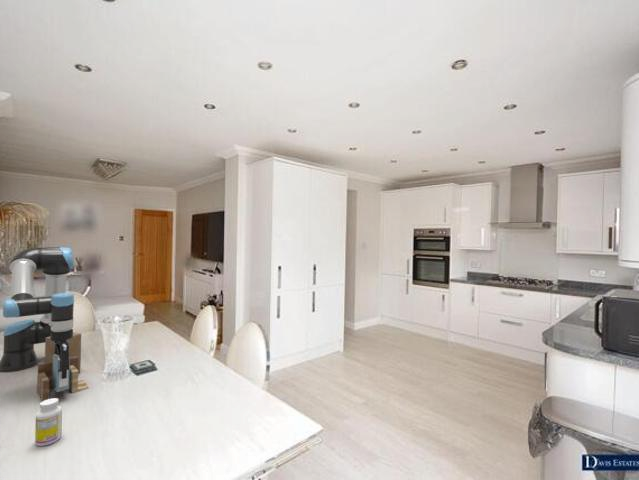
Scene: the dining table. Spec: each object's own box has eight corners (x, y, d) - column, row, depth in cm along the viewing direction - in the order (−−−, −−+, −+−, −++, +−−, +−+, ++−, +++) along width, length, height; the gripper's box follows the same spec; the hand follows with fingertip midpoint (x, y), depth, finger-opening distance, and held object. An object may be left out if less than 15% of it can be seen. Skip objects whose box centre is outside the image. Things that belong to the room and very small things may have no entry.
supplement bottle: (45, 434, 107) (46, 396, 107) (66, 434, 107) (67, 396, 107) (29, 447, 100) (30, 406, 100) (51, 446, 100) (52, 406, 101)
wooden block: (60, 381, 148) (61, 338, 148) (43, 379, 150) (44, 337, 150) (80, 373, 158) (81, 333, 158) (64, 371, 160) (65, 331, 160)
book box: (52, 384, 135) (53, 354, 136) (63, 381, 138) (64, 351, 139) (56, 391, 129) (57, 359, 129) (69, 388, 132) (69, 357, 132)
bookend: (66, 386, 143) (67, 366, 143) (83, 381, 148) (83, 362, 148) (72, 392, 137) (72, 372, 137) (88, 388, 141) (89, 368, 141)
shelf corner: (37, 392, 137) (37, 364, 137) (76, 381, 147) (77, 356, 148) (42, 403, 127) (43, 374, 127) (84, 391, 138) (85, 364, 138)
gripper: (45, 326, 139) (44, 377, 138) (55, 336, 124) (54, 393, 123) (67, 323, 144) (65, 372, 144) (79, 332, 129) (78, 387, 129)
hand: (60, 382), depth 134 cm, fingers closed on book box, 10 cm apart
